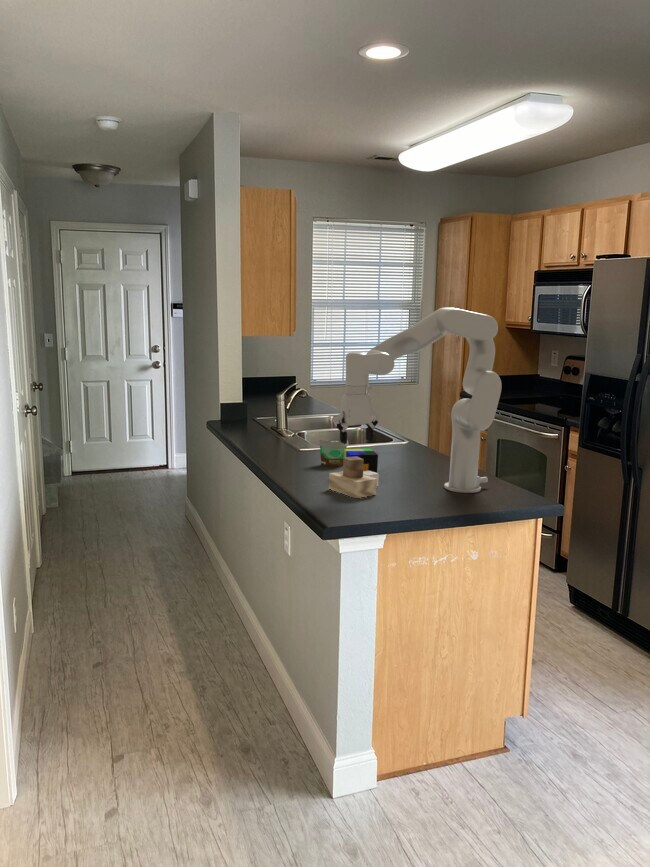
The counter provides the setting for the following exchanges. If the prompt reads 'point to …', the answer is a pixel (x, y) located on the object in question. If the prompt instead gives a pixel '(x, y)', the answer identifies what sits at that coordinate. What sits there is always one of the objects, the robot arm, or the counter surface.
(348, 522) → the counter surface
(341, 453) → the food container
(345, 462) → the walnut block
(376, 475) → the offwhite cube
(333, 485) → the maple block
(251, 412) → the counter surface
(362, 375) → the robot arm
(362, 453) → the puzzle toy
